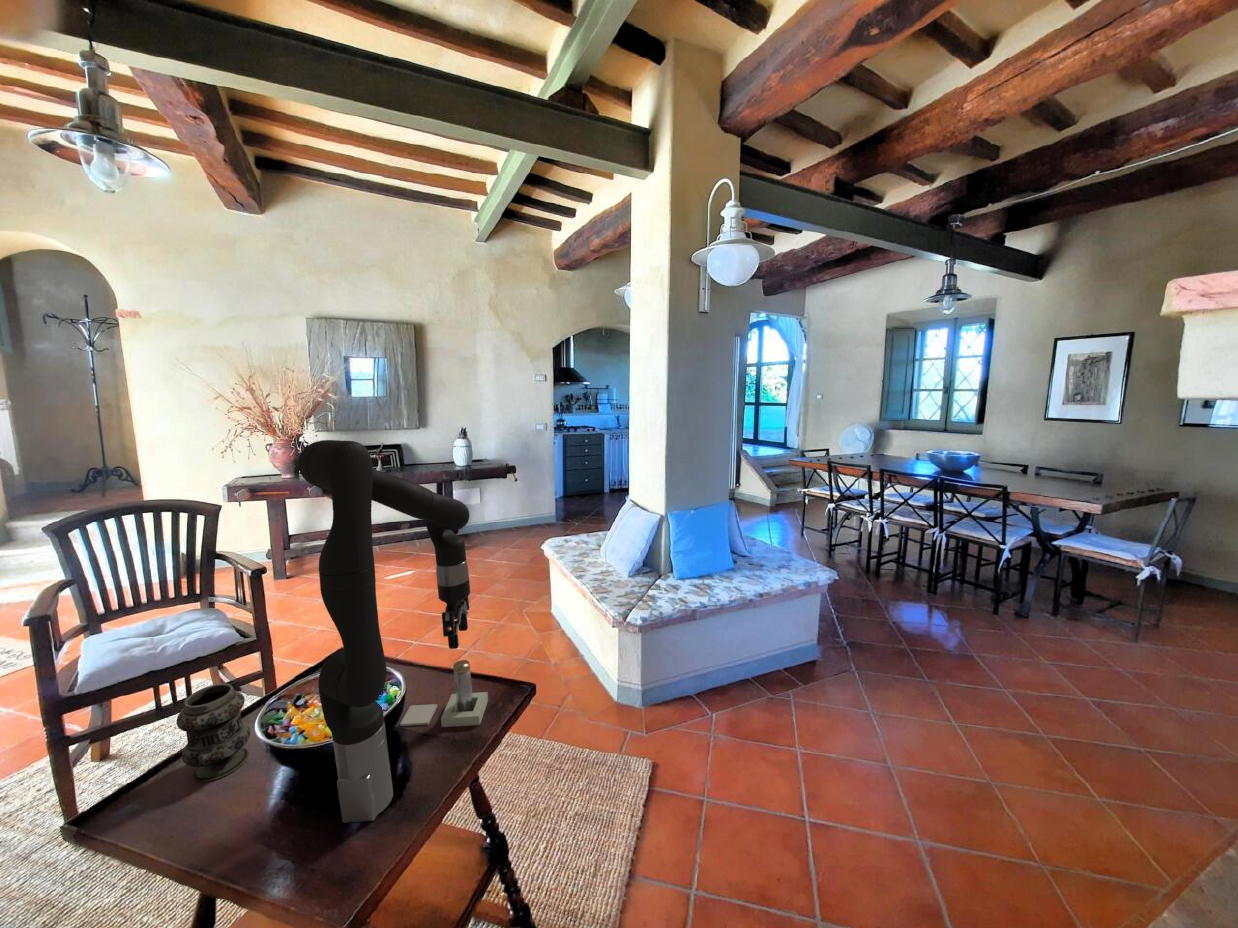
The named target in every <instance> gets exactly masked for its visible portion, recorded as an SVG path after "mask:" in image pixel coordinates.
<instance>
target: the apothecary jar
mask: <svg viewBox="0 0 1238 928" xmlns="http://www.w3.org/2000/svg"><path fill="white" fill-rule="evenodd" d="M245 701H246V700H245V696H244V695H243V693H242V692H240V691H238V690H235V689H234V687H233V685H232V684H229V683H217V684H212V685H208V686H205V687H204V688H201V689H198V690H196V691H195V692H192V694H190V695H189V696H188V697H186V699H185V700H184V703H183V706H184V707H183V709H182V710H181V711H180V712H179V714H178V715H177V718H176V727H177V728H178V729H180V730H181V731H183V732H185V733H186V741H187V744H185V746H184V748H183V749H182V753H181V760H182V762H183V763H184V764H185V765H186V766H189V767H193V768H196V769H195V770H194V772H193V774H194V775H192V776H194V777H193V780H195V781H196V780H197V782H198V781H199V782H198V783H207V782H208V781H209V782H212V781H217V780H218V779H222V778H224V777H227V776H228V775H230V774H231V773H233V772H235V771H236V770H238V769H239V768H240V767H241V766H243V764H245V762H246V761H247V759H248V758H249V751H248V749H247V748H244V746H245V745H246V744H247V742H248V741H249V739H250V737H251V728H250V726H249V725H248V724H247V723H245V722H243V721H242V717H241V716H242V714H241V710H242V709H243V708H244V705H245Z"/></svg>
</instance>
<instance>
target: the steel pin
mask: <svg viewBox="0 0 1238 928" xmlns="http://www.w3.org/2000/svg"><path fill="white" fill-rule="evenodd" d="M452 667H453V668H452V669H453V678H454V679H453V681H454V691H455V694H456V701H457V711H456V712H468V711H473V710H474V706H473V697H472V693H473V689H472V688H473V687H472V676H471V674H472V673H471V665H470V661H469V660H468V659H461V660H458V661H456V662H455V663H454V664H453V665H452Z"/></svg>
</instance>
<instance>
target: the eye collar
mask: <svg viewBox="0 0 1238 928" xmlns="http://www.w3.org/2000/svg"><path fill="white" fill-rule="evenodd" d="M472 697H473V708H474V710H473V711H468V712H458V711H457V701H456V693H452V694H451V695H450V697H449V700H448V702H447V704H446V706H445V708H444V711H443V712H442V715H441V717H440V724H441V728H449V727H451V728H453V727H466V726H468V727H469V726H480V725H481V723H482V720H483V717H484V713H485V712H486V708H487V705H488V702H489V694H488V691H481V692H472Z"/></svg>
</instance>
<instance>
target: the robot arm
mask: <svg viewBox="0 0 1238 928" xmlns="http://www.w3.org/2000/svg"><path fill="white" fill-rule="evenodd" d="M372 460H373V459H372V456H371V454H370V452H369V450H368V448H367V447H365V446H364V445H363V443H361V442H358V441H354V440H335V439H333V440H332V439H323V440H317V441H314V442H311V443H309V444H308V445H307V446H305V447H304V448H303V449H302V450H301V453H300V454H299V457H298V461H297V465H298V466H297V467H298V471H299V473H300V475H301V476H302V478H303V479H304V480H305V481H306V482H308V483H309V484H310V485H312V486H314V487H316V488H320V489H325V490H330V494H331V495H330V496H331V502H332V521H331V522H332V523H331V527H330V530H329V532H328V535H327V537H326V539H325V542H324V544H323V546H322V549H321V551H320V555H319V559H318V575H319V586H320V587H319V588H320V595H321V599H322V601H323V604H324V606H325V610H326V611H327V613H328V615H329V616H330V618H331V621H332V622H333V624H334V626H335V628H336V629H337V631H338V634H339V636H340V639H341V642H342V647H343V649H341V650H337V651H336V652H333V654H332V655H330V656H329V657H328V658H327V659H326V660H325V661H324V664H323V665H322V667H321V670H320V672H319V676H318V684H317V687H318V697H319V700H320V704H321V705H320V706H321V708H322V715H323V719H324V723H325V725H326V727H327V728H328V729H329V731H330V734H331V738H332V744H333V750H334V757H335V765H336V766H335V767H336V772H337V780H336V787H337V793H338V800H339V806H340V807H339V808H340V813H341V820H342V821H341V822H342V823H353V822H354V823H355V822H356V823H357V822H358V823H359V822H372V821H375V820H376V818H377V816H379V814H380V813H382V812H383V811H384V810H386V808H387V807H388V806H389V804H390V803H391V802H392V799H393V796H394V788H393V787H394V786H393V780H392V773H391V765H390V757H389V756H390V755H389V748H388V742H387V734H386V725H385V717H384V712H383V710H382V707H381V706H380V705H379V704H378V703H377V702H376V701H375V700H376V699H377V698H378V697H379V695H380V694H381V692H382V690H383V688H384V685H385V686H386V681H387V663H386V662H387V661H386V656H385V651H384V647H383V646H384V645H383V642H382V637H381V630H380V623H379V614H378V613H379V611H378V602H377V601H378V600H377V592H376V591H377V589H376V582H377V581H376V568H375V567H376V566H375V557H374V547H373V544H374V543H373V524H372V501H373V502H375V503H378V504H380V505H383V506H385V507H387V508H391V509H393V510H395V511H397V512H400V513H402V514H404V515H406V516H409V517H411V518H414V519H417V520H422V521H423V520H424V523H425V524H424V525H425V526H426V529H427V532H428V534H429V537H430V541H431V543H432V546H433V547H434V554H435V563H436V564H435V565H436V567H435V569H436V570H435V575H436V585H437V594H438V599H439V600H440V601H441V602H443V603H444V604H446V606H445V609H444V610H445V611H444V612H442V613H441V621H442V623H441V624H442V632H443V634H442V635H443V637H447V642H448V649H450V650H453V649H454V650H456V649H458V648H459V644H460V643H459V635H458V630H459V632H466V631H467V630H468V629H469V628H468V627H469V625H468V615H469V612H468V611H470V602H469V596H470V594H471V586H470V577H469V576H470V574H469V566H468V561H467V554H466V544H465V540H464V539H463V538H462V537H461V536H459V535H457V534H455V533H454V531H458V530H461V529H462V528H463V529H464V528H465V526H466V525H467V524H468V522H469V520H470V511H469V508H468V507H467V505H466V504H465V503H464V502H462V501H460V500H458V499H456V498H454V497H453V498H452V497H450V496H446V495H443V494H439V493H437V492H434V491H432V490H430V488H427V487H425V486H422V485H420V484H419V483H417V482H414V481H411V480H409V479H407V478H403V477H399V476H396V475H393V474H390V473H386V472H383V471H381V470H378V469H375V468H374V467H373V465H374V464H373V461H372Z"/></svg>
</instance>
